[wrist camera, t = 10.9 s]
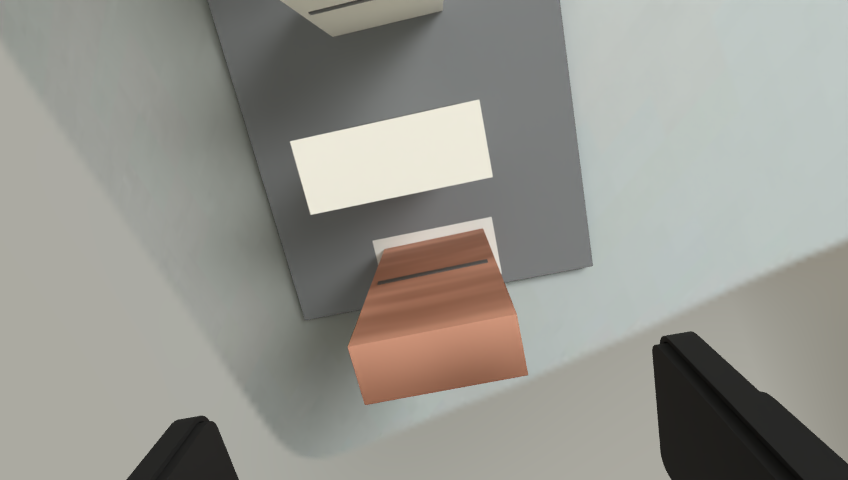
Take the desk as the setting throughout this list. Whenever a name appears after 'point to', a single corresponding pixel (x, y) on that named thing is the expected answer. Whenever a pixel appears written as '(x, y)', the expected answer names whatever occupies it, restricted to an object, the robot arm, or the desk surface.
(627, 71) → the desk surface
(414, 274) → the domino
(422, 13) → the domino
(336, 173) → the domino
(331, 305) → the domino mat
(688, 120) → the desk surface
